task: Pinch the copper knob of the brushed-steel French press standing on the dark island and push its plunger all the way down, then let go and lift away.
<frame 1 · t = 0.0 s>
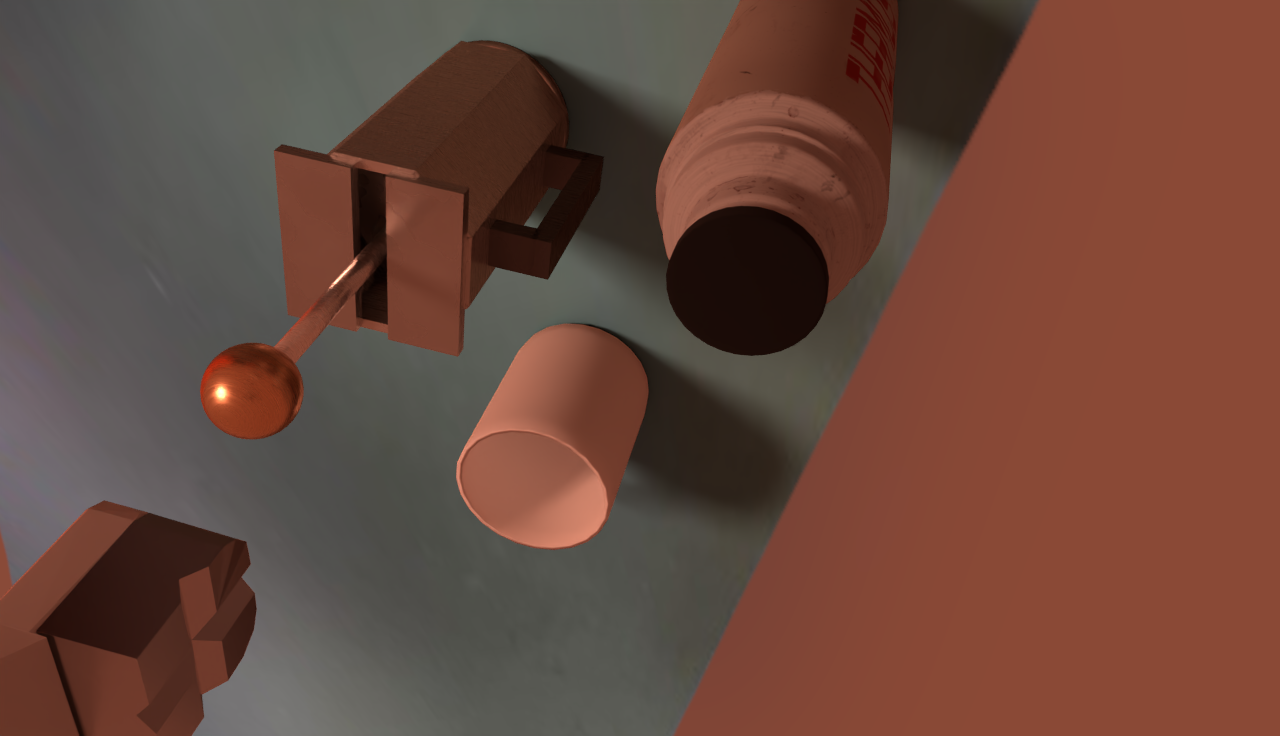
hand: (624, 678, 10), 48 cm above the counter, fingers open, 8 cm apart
press carafe: (495, 117, 60), on the counter
plunger: (337, 295, 44), point 21 cm above the counter, slide at 0.0 cm
mug: (579, 389, 71), on the counter
thermos bottle: (819, 15, 53), on the counter
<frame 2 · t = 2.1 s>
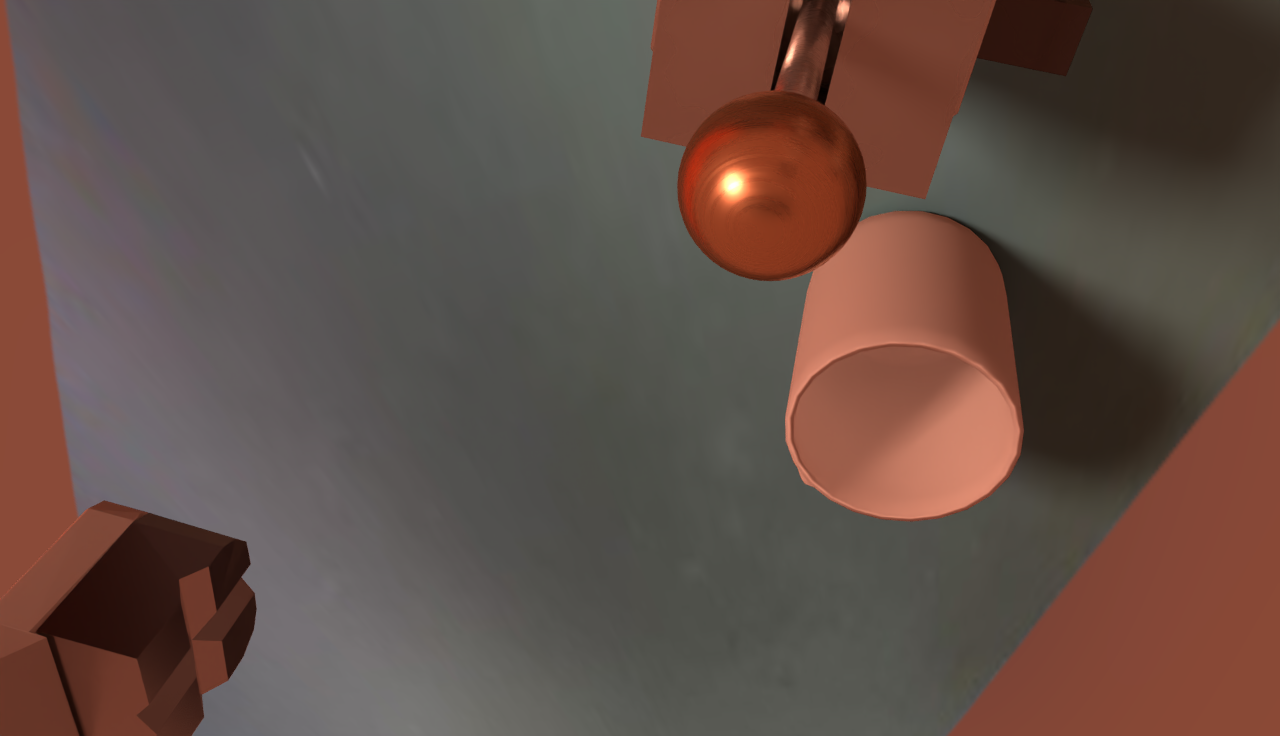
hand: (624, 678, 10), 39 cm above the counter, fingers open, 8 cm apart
plunger: (803, 64, 25), point 20 cm above the counter, slide at 0.0 cm
mug: (893, 307, 52), on the counter
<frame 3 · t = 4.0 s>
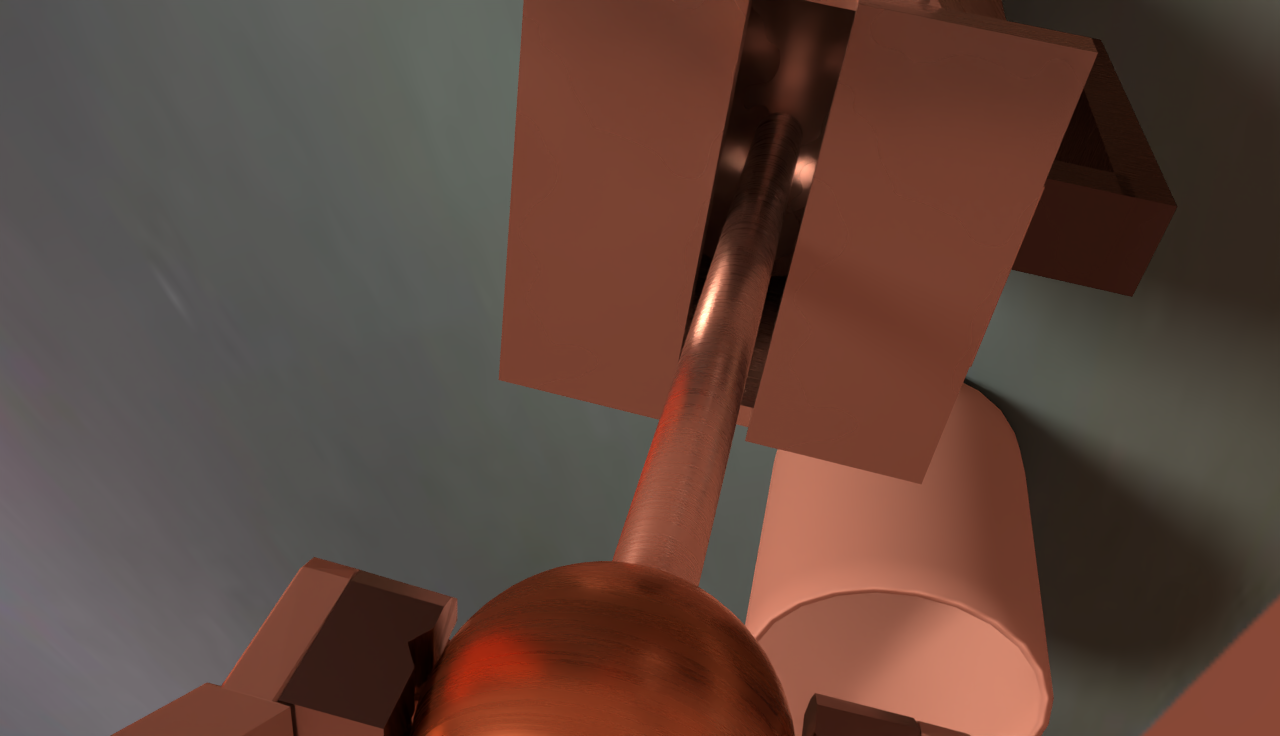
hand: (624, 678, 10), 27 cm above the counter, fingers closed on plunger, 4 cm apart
plunger: (719, 347, 15), point 20 cm above the counter, slide at 0.0 cm, touching gripper
mug: (883, 473, 42), on the counter
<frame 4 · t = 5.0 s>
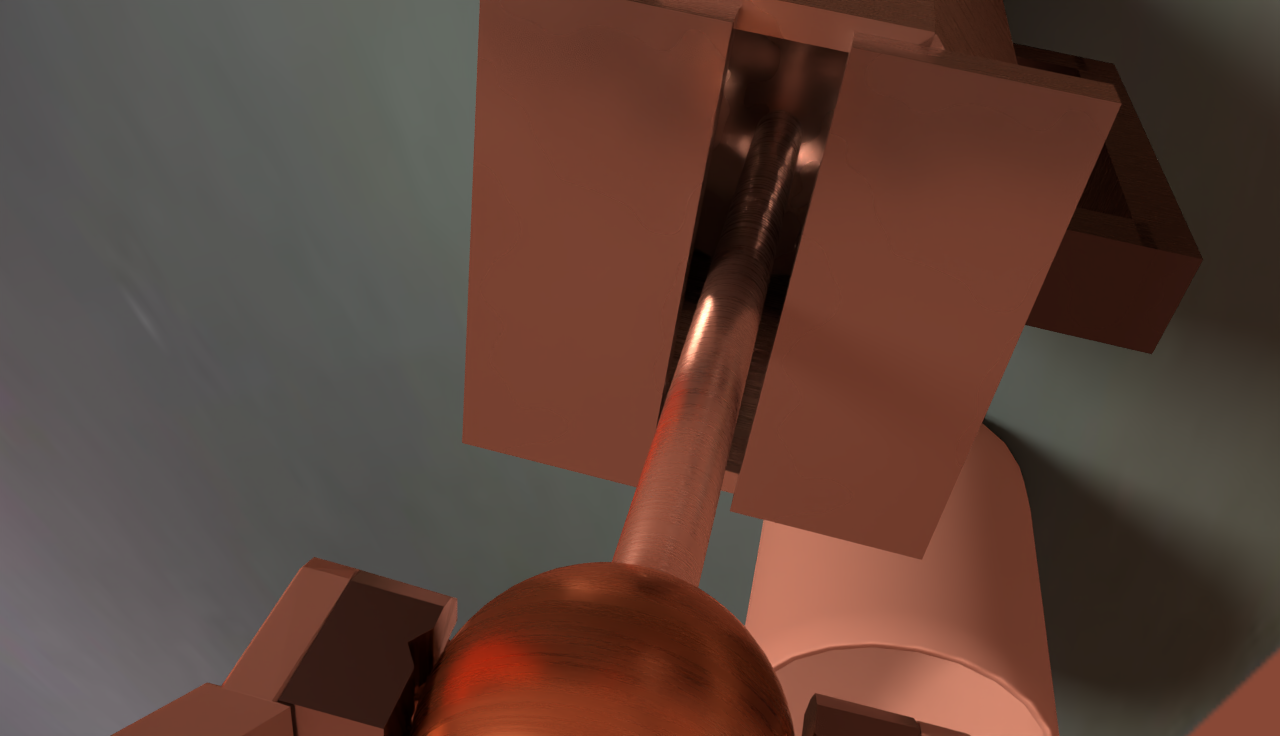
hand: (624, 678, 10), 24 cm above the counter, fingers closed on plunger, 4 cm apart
plunger: (719, 346, 15), point 18 cm above the counter, slide at 2.1 cm, touching gripper
mug: (881, 505, 40), on the counter
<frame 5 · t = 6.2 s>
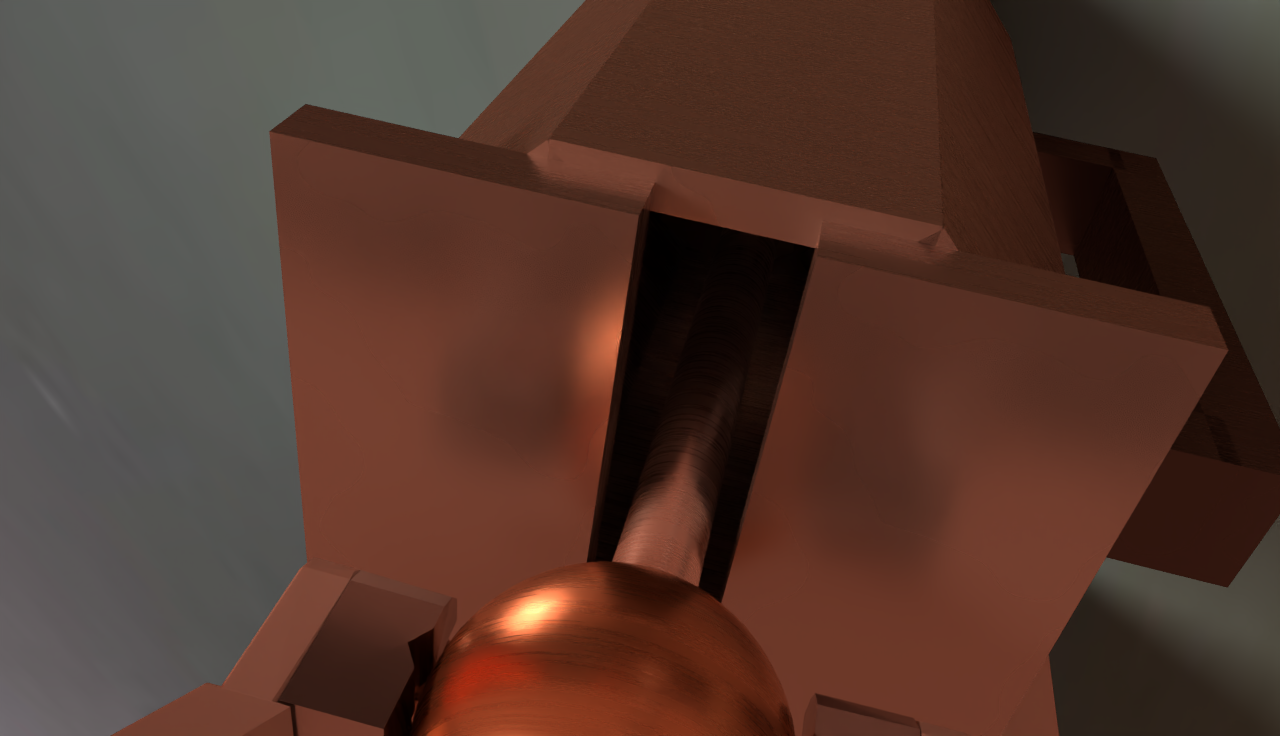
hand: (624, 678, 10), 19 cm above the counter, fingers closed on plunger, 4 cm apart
press carafe: (798, 64, 25), on the counter
plunger: (719, 346, 15), point 13 cm above the counter, slide at 7.8 cm, touching gripper
mug: (877, 616, 36), on the counter
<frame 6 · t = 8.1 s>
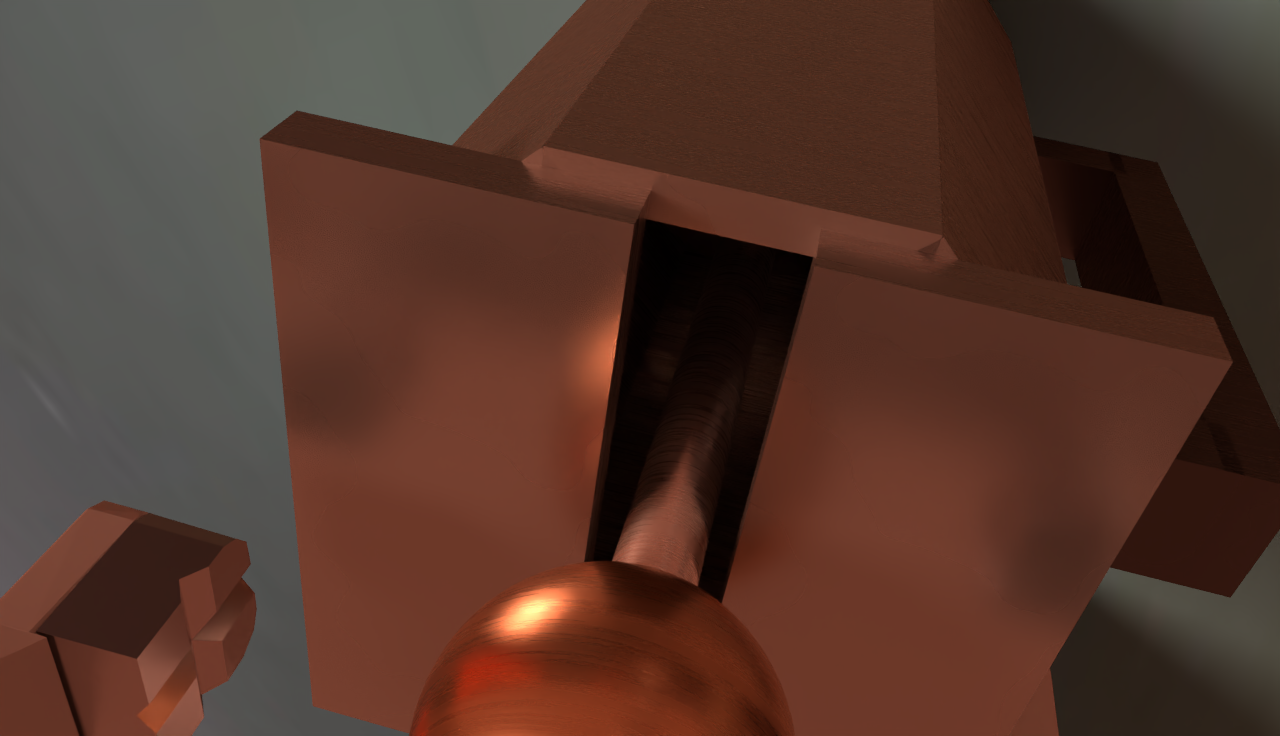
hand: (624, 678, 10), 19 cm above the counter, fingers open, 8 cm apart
press carafe: (797, 67, 25), on the counter
plunger: (718, 346, 15), point 12 cm above the counter, slide at 8.0 cm
mug: (876, 621, 36), on the counter
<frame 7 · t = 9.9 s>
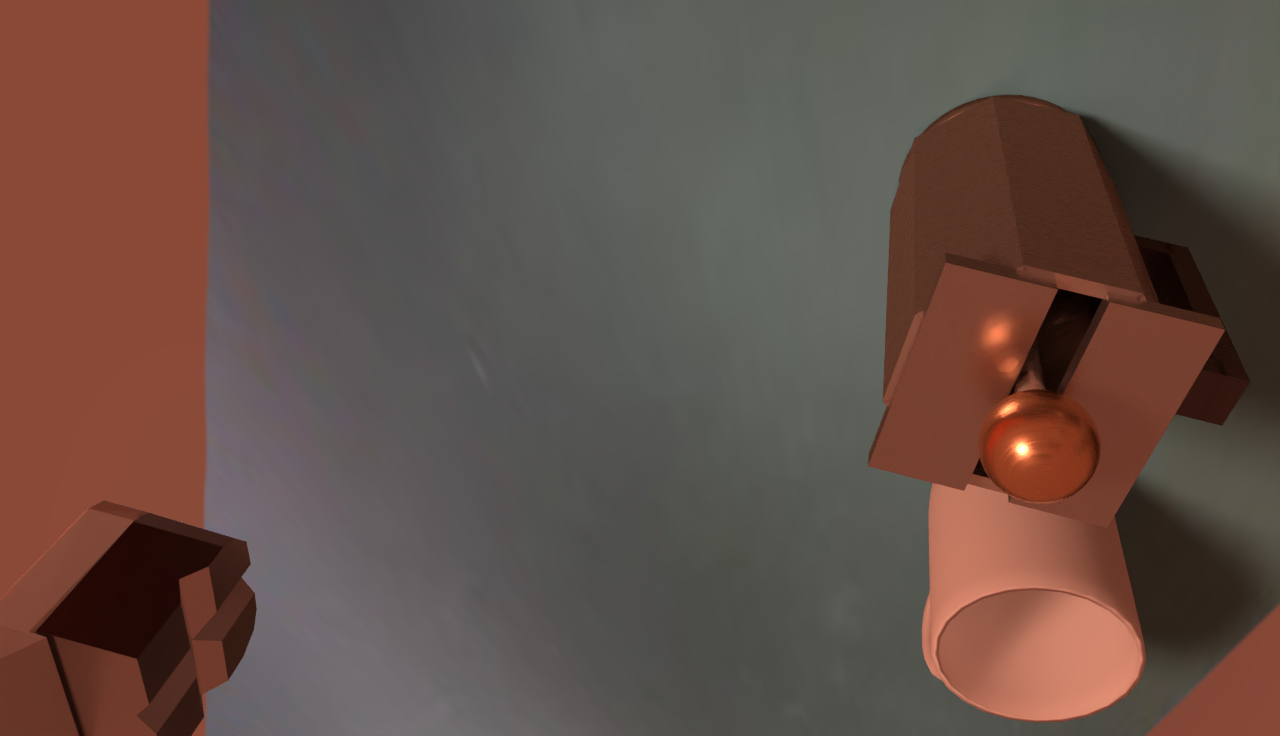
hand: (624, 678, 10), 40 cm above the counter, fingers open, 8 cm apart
press carafe: (997, 188, 48), on the counter
plunger: (1019, 329, 38), point 12 cm above the counter, slide at 8.0 cm
mug: (1003, 506, 59), on the counter
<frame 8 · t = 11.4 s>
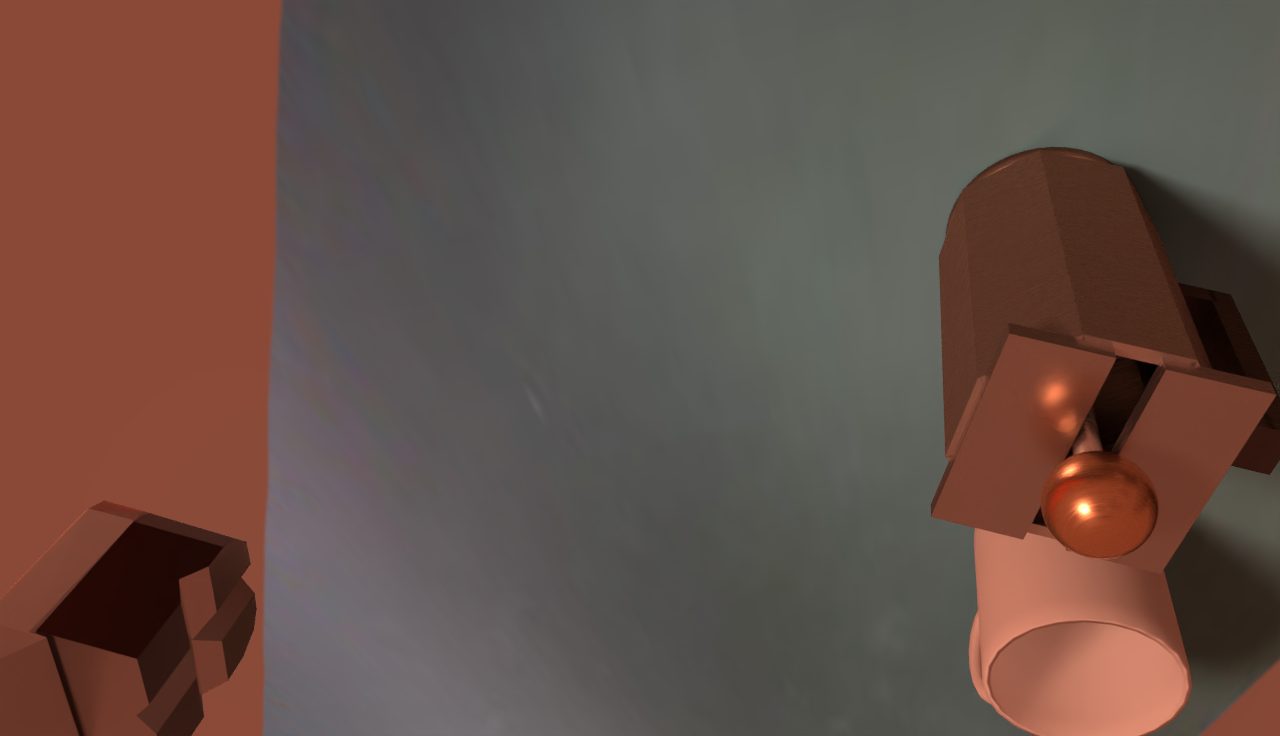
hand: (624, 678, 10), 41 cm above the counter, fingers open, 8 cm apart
press carafe: (1042, 234, 50), on the counter
plunger: (1073, 383, 40), point 12 cm above the counter, slide at 8.0 cm
mug: (1046, 532, 60), on the counter
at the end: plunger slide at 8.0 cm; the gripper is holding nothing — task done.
